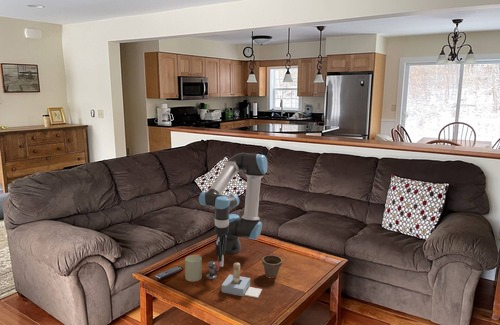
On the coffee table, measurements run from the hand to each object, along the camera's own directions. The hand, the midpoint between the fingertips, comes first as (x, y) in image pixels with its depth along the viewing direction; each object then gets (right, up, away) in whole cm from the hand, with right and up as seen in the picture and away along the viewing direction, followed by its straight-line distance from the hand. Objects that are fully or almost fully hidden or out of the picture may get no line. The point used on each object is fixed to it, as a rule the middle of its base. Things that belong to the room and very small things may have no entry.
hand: (220, 265), depth 204 cm
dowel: (+9, -11, -5) cm, 15 cm away
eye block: (+9, -11, -5) cm, 15 cm away
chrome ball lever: (-4, -2, +3) cm, 5 cm away
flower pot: (+28, -9, +10) cm, 31 cm away
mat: (+18, -12, -9) cm, 23 cm away
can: (-16, -8, +5) cm, 18 cm away
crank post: (-6, -8, +7) cm, 12 cm away
